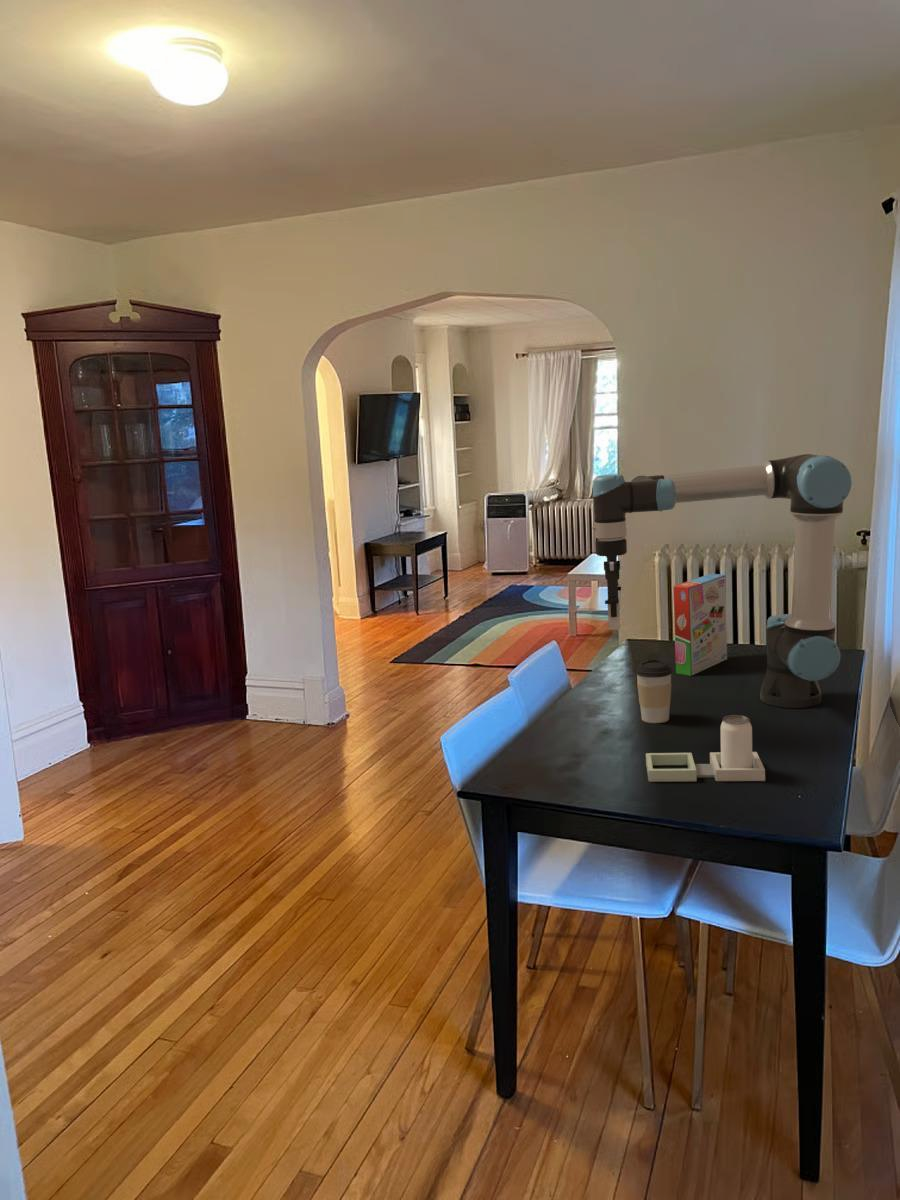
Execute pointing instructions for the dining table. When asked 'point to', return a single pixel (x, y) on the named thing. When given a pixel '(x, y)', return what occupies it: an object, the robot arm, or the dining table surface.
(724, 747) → the can
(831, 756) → the dining table surface
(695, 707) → the dining table surface
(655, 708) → the coffee cup
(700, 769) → the socket panel
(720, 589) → the game box
